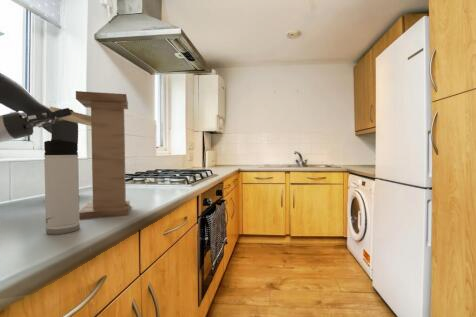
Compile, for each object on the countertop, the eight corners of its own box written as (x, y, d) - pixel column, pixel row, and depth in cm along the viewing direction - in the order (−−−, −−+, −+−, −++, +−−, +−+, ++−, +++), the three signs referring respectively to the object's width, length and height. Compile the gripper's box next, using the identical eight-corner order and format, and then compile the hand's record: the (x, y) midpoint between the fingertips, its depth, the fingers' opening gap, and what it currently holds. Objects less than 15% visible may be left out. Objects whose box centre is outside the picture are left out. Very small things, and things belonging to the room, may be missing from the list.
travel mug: (40, 236, 56) (37, 139, 56) (52, 227, 63) (50, 140, 62) (74, 233, 58) (72, 139, 57) (83, 225, 64) (81, 140, 64)
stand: (87, 208, 84) (85, 100, 83) (129, 205, 88) (127, 102, 87) (78, 218, 71) (75, 91, 70) (128, 214, 75) (126, 94, 74)
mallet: (53, 117, 88) (58, 99, 88) (116, 132, 93) (120, 114, 93) (45, 115, 81) (50, 95, 81) (114, 130, 86) (118, 112, 87)
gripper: (-9, 111, 74) (60, 96, 79) (16, 117, 87) (74, 103, 92) (1, 138, 75) (69, 121, 80) (24, 139, 88) (81, 125, 93)
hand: (71, 112), depth 86 cm, fingers closed on mallet, 3 cm apart
